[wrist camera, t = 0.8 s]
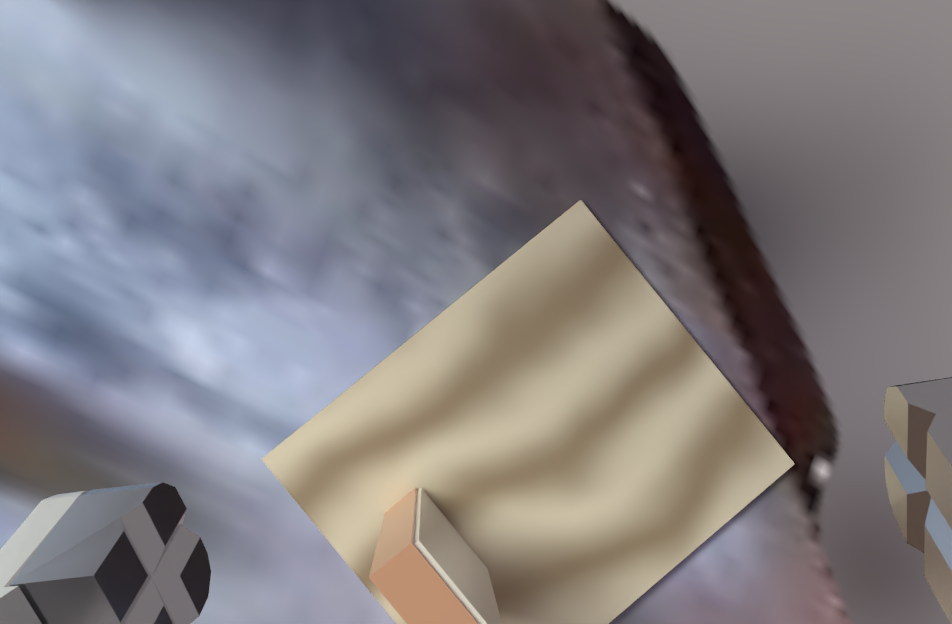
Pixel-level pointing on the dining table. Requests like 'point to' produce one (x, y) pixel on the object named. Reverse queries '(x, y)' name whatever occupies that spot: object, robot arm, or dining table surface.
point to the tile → (430, 567)
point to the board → (542, 435)
